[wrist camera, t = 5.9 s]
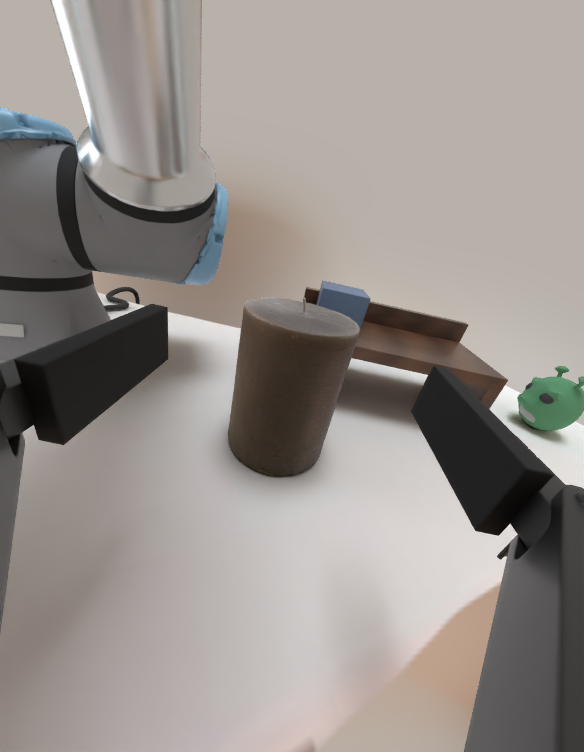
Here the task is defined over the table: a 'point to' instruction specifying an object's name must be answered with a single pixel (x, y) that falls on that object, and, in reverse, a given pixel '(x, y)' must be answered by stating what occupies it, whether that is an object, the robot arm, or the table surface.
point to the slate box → (344, 300)
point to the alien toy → (552, 402)
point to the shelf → (421, 346)
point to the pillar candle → (287, 382)
